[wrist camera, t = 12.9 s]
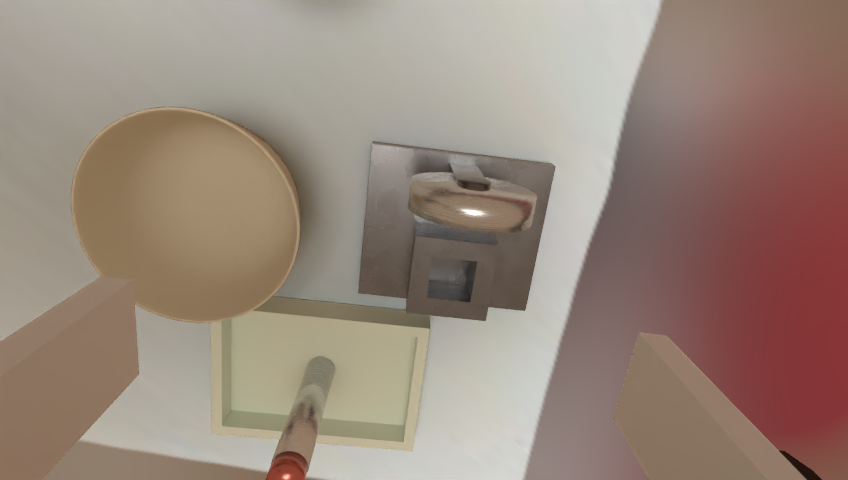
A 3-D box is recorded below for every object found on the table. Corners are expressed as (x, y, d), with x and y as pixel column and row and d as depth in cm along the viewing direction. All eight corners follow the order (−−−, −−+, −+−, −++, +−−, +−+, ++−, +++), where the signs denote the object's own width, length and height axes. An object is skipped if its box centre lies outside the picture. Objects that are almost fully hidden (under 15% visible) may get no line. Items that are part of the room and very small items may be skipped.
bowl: (357, 219, 46) (343, 256, 36) (221, 302, 48) (173, 358, 39) (250, 62, 41) (202, 58, 32) (105, 163, 44) (20, 187, 34)
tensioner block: (359, 286, 48) (339, 367, 35) (373, 141, 44) (355, 170, 30) (521, 303, 49) (562, 389, 36) (550, 163, 44) (609, 200, 31)
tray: (223, 412, 52) (211, 433, 49) (223, 291, 48) (210, 306, 45) (412, 429, 53) (412, 451, 50) (428, 312, 49) (430, 328, 46)
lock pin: (306, 379, 50) (263, 497, 36) (307, 355, 49) (265, 466, 35) (334, 381, 50) (302, 500, 36) (336, 357, 49) (304, 470, 35)
